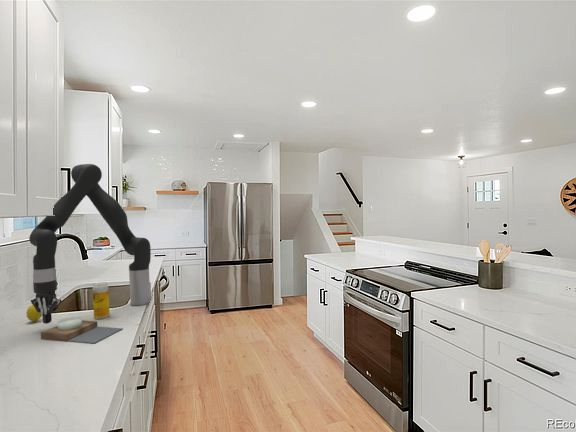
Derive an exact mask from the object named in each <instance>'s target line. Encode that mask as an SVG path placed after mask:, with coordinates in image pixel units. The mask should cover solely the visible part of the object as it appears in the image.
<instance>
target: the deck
mask: <svg viewBox="0 0 576 432" xmlns="http://www.w3.org/2000/svg"><path fill="white" fill-rule="evenodd" d="M96 327H98V321H97V320H84V319H82V325H81V326H80V327H78V328H75V329H71V330H64V331H61V330H58V327H57V325H56V326H53V327H52V328H49V329H45V330H44V331H41V332H40V340H48V341H59V342H68V340H70V339H72V338H74V337H76V336H79V335H81V334H83V333H85V332H87V331H89V330H92V329H94V328H96Z"/></svg>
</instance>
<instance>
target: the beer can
mask: <svg viewBox="0 0 576 432" xmlns="http://www.w3.org/2000/svg"><path fill="white" fill-rule="evenodd" d="M109 294H110V293H109V284H108V282H104V281H103V282H97V283H96V282H95V283H93V286H92V303H93V304H92V306H93V318H95V319H96V320H103V319H107V318H108V317H109V316H110V295H109Z"/></svg>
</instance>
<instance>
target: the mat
mask: <svg viewBox="0 0 576 432" xmlns="http://www.w3.org/2000/svg"><path fill="white" fill-rule="evenodd" d="M122 330H124V329H123V327H109V326H97V327H96V328H94V329H92V330H89V331H87V332H85V333H83V334H81V335H79V336H76V337H74V338H72V339H70V340H68V341H67V342H69V343H79V344H80V343H81V344H91V345H92V344H93V345H95V344H98V343H99V342H101V341H103V340H105V339H107V338H109V337H111V336H112V335H114V334H116V333H119V332H121V331H122Z"/></svg>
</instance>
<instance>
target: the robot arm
mask: <svg viewBox="0 0 576 432" xmlns="http://www.w3.org/2000/svg"><path fill="white" fill-rule="evenodd" d="M70 173H71V176H70V177H71V179H72V181H73V182H74V185H73V186H72V187H71V188H70V189H69V190H68V191H67V192H66V193H65V194H64V195H63V196H62V197H60V198H59V199H58V200H57V201H56V202H55V203H54V205H53V206H54V208H53V215H55V216H47V215H46V216H45V217H44V219H42V221H40V222H39V223H38V224H37V225H36V226H35V227H34V229H33V230H32V231H31V233H30V235H29V238H28V239H29V242H30V244H31V245H32V246H34V247H36V252H35V253H36V254H35V255H33V257H32V265H33V266H32V267H33V272H32V282H33V283H32V284H33V285H32V286H33V287H32V288H33V293H35V298H33V299H31V300H30V303H31V305H33V306H34V307H35V309H36V310H37V312H38V313H39V312H40V313H41V314H42V316H41V318H42V322H43V324H50V323H52V321H53V320H52V318H53V317H52V313H54V312H57V309H58V308H59V306H60V305H61V303H62V299H61V298H60V299H58V298H57V294H56V291H57V289H58V279H57V278H58V277H57V276H58V275H57V269H56V252H57V245H58V237H57V234H56V232H57V231H58V230H59V229H60V228H63V227H64V226H65V224H66V223H67V222H68V220H69V219H70V217H71V216H72V214H73V213H74V212H75V210H76V208H77V207H78V206H79V205H80V203H81V202H82V201H83V199H85V198H86V196H87V197H88V199H89V200H90V201H91V203H92V204H93V206H94V207H95V208H96V210H97V211H98V213H99V214H100V215H101V217H102V218H103V220H104V221H105V223H106V224H107V225H108V226H109V228H110V229H111V230H112V232H113V233H114V235H115V236H116V237H117V239H118V240H119V243H120V244H121V245H122V248H123V249H124V251H125V252H126V253H127V254H128V255H130V256H133V262H131V263H129V265H128V273H129V274H128V277H129V298H130V299H129V300H130V301H129V303H130V305H131V306H143V305H147V304H149V303H151V301H152V283H151V281H150V264H151V253H152V252H151V248H152V247H151V243H150V241H149V240H148V238H145V237H137V236H135V235H134V233H133V232H132V230H131V229H130V227H129V223H128V216H127V213H126V212H125V210H124V209H123V207H122V206H121V205H120V203H119V202H118V201H117V200H116V198H114V197H113V196H111V195H110V194H109V193H108V192H106V191H105V190H104V189H103V188H102V187H101V186H100V184H99V182H100V181H101V179H102V174H103V173H102V170H101V168H100V167H99V166H98V165H96V164H94V163H84V164H77V165H75V166H73V168H72V169H71V171H70Z"/></svg>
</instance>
